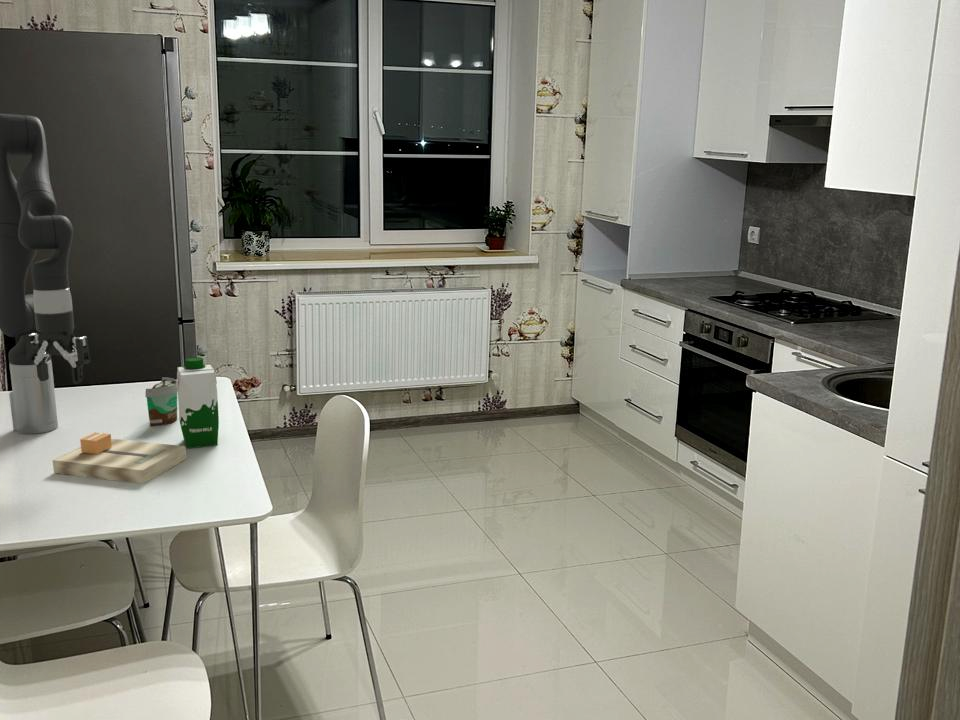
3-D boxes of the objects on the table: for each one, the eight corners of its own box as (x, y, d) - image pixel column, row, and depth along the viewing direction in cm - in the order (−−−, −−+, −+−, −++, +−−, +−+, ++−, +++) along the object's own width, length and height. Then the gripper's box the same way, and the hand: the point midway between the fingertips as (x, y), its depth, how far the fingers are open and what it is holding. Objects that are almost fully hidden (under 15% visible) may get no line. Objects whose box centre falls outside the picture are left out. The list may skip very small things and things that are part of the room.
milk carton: (216, 434, 222) (212, 355, 218) (222, 446, 214) (217, 363, 210) (179, 439, 219) (173, 358, 214) (183, 450, 211) (177, 367, 206)
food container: (172, 428, 227) (169, 389, 225) (147, 427, 227) (144, 389, 225) (188, 413, 239) (186, 377, 237) (165, 413, 239) (162, 376, 237)
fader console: (53, 473, 196) (52, 459, 195) (101, 449, 211) (100, 436, 210) (143, 483, 190) (142, 469, 190) (186, 458, 206) (185, 445, 205)
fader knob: (81, 452, 200) (80, 438, 199) (96, 445, 204) (95, 432, 203) (97, 454, 199) (96, 440, 198) (111, 446, 203) (110, 433, 203)
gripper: (93, 307, 198) (99, 379, 202) (37, 304, 201) (44, 375, 205) (70, 314, 191) (77, 388, 195) (12, 310, 194) (20, 383, 198)
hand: (60, 381), depth 200 cm, fingers open, 8 cm apart
